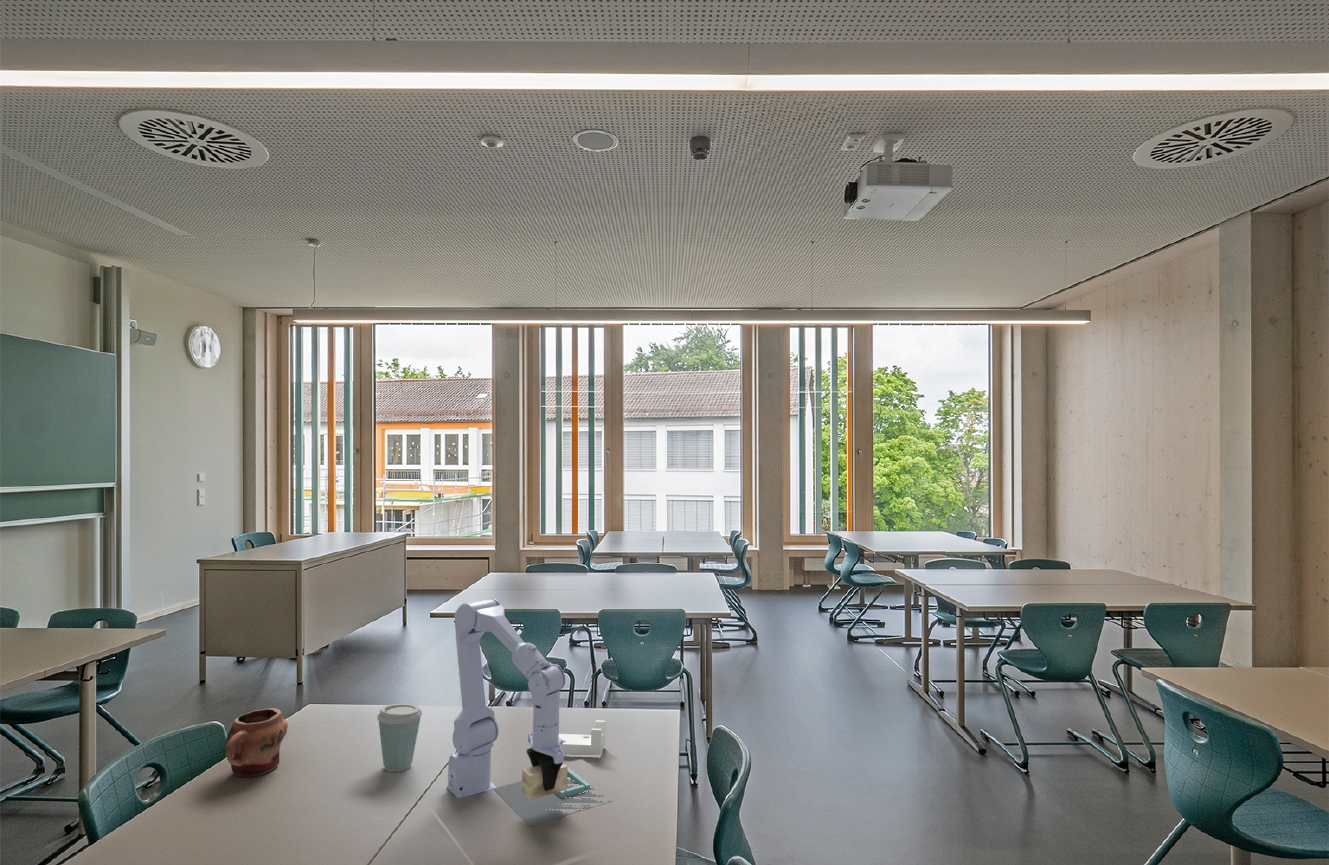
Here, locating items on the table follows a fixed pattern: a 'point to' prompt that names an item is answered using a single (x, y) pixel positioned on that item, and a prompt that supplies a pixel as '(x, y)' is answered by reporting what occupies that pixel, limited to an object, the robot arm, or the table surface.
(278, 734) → the decorative planter
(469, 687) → the robot arm
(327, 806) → the table surface
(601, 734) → the bracket
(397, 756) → the disposable coffee cup
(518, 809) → the rubber mat
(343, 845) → the table surface
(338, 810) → the table surface
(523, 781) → the birch block
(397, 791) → the table surface
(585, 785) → the teal frame
